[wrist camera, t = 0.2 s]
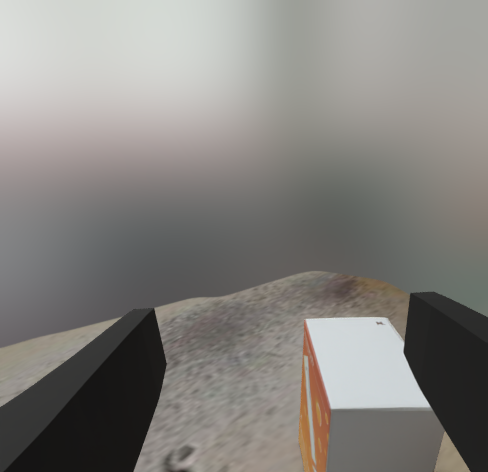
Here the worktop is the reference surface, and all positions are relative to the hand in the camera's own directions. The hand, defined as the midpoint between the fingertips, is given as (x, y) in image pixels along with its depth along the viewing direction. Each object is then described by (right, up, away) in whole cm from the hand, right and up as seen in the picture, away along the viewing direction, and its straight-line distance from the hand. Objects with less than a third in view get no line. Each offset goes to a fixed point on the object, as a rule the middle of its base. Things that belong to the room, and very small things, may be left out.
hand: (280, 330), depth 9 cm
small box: (+7, -17, +15) cm, 24 cm away
